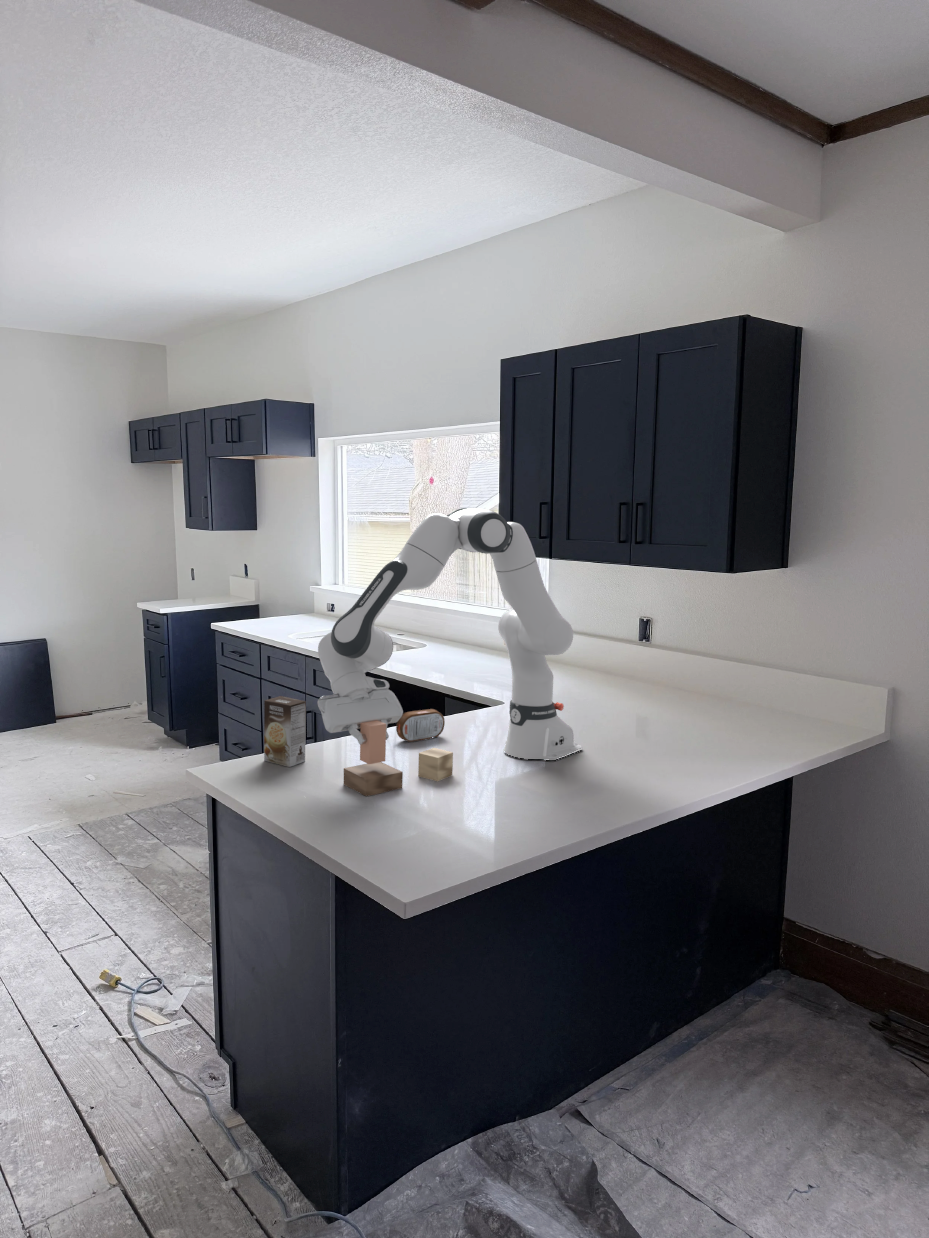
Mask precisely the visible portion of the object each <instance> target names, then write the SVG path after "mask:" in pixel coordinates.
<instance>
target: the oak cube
mask: <svg viewBox="0 0 929 1238" xmlns="http://www.w3.org/2000/svg"><path fill="white" fill-rule="evenodd" d="M453 765H454V752H453V751H448V750H446V749H440V748H437V747H432V748H429V749H427V750H423V751H421V752H418V768H417V769H418V772H417V773H418V777H419V778H423V779H428V780H430V779H431V781H434V782H440V781H441V780H444V779H447V778H450V777H452V776H453V770H454V768H453ZM449 776H450V777H449Z"/></svg>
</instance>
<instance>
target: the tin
mask: <svg viewBox="0 0 929 1238" xmlns="http://www.w3.org/2000/svg"><path fill="white" fill-rule="evenodd" d="M445 721H446V719H445V717H444V715H443V714H442V713H441V712H439V711H438V710H437V709H434V708H430V709H429V708H427V709H422V710H421V709H419V710H412V711H407V712H404V713H403V714H402V717H401V718H400V719H399V720H398V722H396V727H395V729H396V734H397V736H398V737H399V738H400V739H401V740H404V741H405V742H408V743H409V742H410V743H414V742H419V741H424V740H425V739H427V740H431V739H430V738H432V737H436V738H438V737H439V736H441V734H442V733H443V731H444V728H445ZM437 736H438V737H437Z"/></svg>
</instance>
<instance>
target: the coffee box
mask: <svg viewBox="0 0 929 1238" xmlns="http://www.w3.org/2000/svg"><path fill="white" fill-rule="evenodd" d="M263 705H264V708H263V709H264V711H263V712H264V717H263V718H264V721H263V724H264V725H263V726H264V728H263V729H264V731H263V732H264V733H263V736H264V738H263V740H264V741H263V745H264V746H263V751H264V752H263V755H264V757H263V760H264V762H268V763H273V764H276V765H279V766H280V765H281V766H282V767H283V766H284V767H287V768H291V767H294V766H297V765H299V764H301V763H304V762H306V736H307V735H306V734H307V733H306V732H307V731H306V729H307V728H306V726H307V725H306V724H307V723H306V722H307V721H306V720H307V717H306V716H307V715H306V714H307V700H300V699H297V698H292V697H288V696H283V695H279V696H276V697H272V698H268V699H265V700H264V703H263Z"/></svg>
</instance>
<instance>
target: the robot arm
mask: <svg viewBox="0 0 929 1238" xmlns="http://www.w3.org/2000/svg"><path fill="white" fill-rule="evenodd" d="M458 549H459V550H463V551H465V552H469V553H479V554H486V555H487V554H489V555H490V557H491V559H492V562H493V566H494V570H495V573H496V577H497V581H498V584H499V587H500V591H501V593H502V594H501V595H502V597H503V598H504V600H505V602H507V603H508V605H509V606H510V607H511V609H508V610H507V611H505V612H504V613H503V614H502V615H501V617H500V619H499V621H498V634H499V635H500V637H501V639H502V641H503V642H504V644H505V647H506V650H507V654H508V659H509V663H510V668H511V699H510V701H509V712H508V713H509V723H508V724H509V725H508V730H507V736H506V740H505V743H504V749H503V752H504V751H505V752H506V753H507V754H509V755H511V756H510V757H512V756H514V757H513V758H515V757H518V758H517V759H520V758H524V759H523V760H528V759H549V760H555V759H557V758H559V757H562V756H565V755H567V754H569V753H572V752H574V751H576V750H578V749H581V748H582V749H583V747H582V745H581V744H579V743H578V742H576V741H575V737H574V735H575V734H574V730H573V728H572V727H571V726H570V724H568V723H567V722H566V721H564V720H563V719H562V718H561V717H560V716H559V715H558V713H557V710H558V711H563V710H564V707H565V706H564V703H560V702H557V701H556V702H554V696H553V695H554V674H553V670H552V669H551V668H550V667H549V664H548V662H547V658H546V656H559V655H563V654H564V653H566V652H567V651H568V650H569V649H570V648H571V646H572V643H573V640H574V630H573V627H572V624H570V622H569V621H568V620H566V619H565V618H564V616H563V615H562V614H561V613H560V611H559V610H558V608H557V607H556V605H555V603H554V601H553V600H552V598H551V596H550V595H549V592H548V591H547V589H546V586H545V584H544V581H543V577H542V574H541V570H540V567H539V563H538V560H537V557H536V554H535V550H534V548H533V545H532V542H531V540H530V538H529V535H528V534H527V532H526V529H525V528H524V526H523V525H522V524H521V523H518V522H514V521H507V520H506V519H505V518H504V517H503V516H502V515H501V514H500V513H498V512H496V511H494V510H490V509H489V510H488V509H484V508H479V507H472V508H467V507H464V508H457V509H456V510H453V511H452V512H451V513H449V514H448V515H447V514H444V513H433V512H432V513H430V514H428V515H427V516H426V517H425V518H424V519H423V520H422V521H421V522H420V524H419V525H418V526H417V527H416V528H415V530H414V531H413V532H412V533H411V535H410V536H409V538H408V540H407V542H406V543H405V544H404V546H403V547H402V549H401V551H399V553H398V554H397V556H395V558H394V559H392V560H391V561H390V562H387V564H385V565H384V566H383V567H382V569H381V570H380V571H379V572H378V573H377V574H376V576H375V577H374V578H373V579H372V581H371V582H370V583H369V585H368V586H367V588H366V589H365V590H364V591H363V592H362V594H361V595H360V597H359V598H358V599H357V601H355V603H354V604H353V606H352V607H350V609H348V610H347V611H346V612H345V613H344V614H343V615H341V616H340V617H339V618H338V619H337V620H336V622H335V623H334V625H333V627H332V628H331V631H330V632H329V633H327V634H325V635H324V636H323V637H322V638H321V639H320V641H319V643H318V647H317V652H318V659H319V660H320V664H321V667H322V669H323V673H324V675H325V676H326V677H327V679H328V680H329V681H330V682H329V683H330V688H331V691H332V693H333V694H330V695H322V696H320V698H318V699H317V702H316V703H317V706H318V709H319V711H320V712H321V717H322V722H323V725H324V728H325V730H326V731H327V732H328V733H330V734H335V733H341V732H346V731H348V733H349V734H350V735H351V736H352V737H353V738H354V739H356V741H357V742H358V745H359V746H360V745H361V744H366V742H367V738H366V735H365V734H361V733H360V731H359V730H360V727H361V723H364V722H370V721H376V720H378V721H380V722H383V723H385V724H386V741H388V739H389V736H390V735H389V733H388V731H387V730H388V725H389V724H394V723H395V724H396V723H397V722H398V720H399V719H400V718H401V717H402V715H403V714H404V710H403V707H402V705H401V702H400V701H399V699H398V697H397V696H396V695H395V693H394V692H393V691H392V690H390V689H389V688H390V683H389V681H387V680H385V679H380V678H374V677H371V676H366V673H368V672H371V671H373V670H375V669H378V668H379V667H381V666H383V665H385V664H386V663H388V661H389V660H390V658H391V656H392V654H393V651H394V643H393V640H392V638H391V636H390V635H389V634H388V633H387V632H386V631H384V630H382V629H381V628H379V627H378V626H375V622H376V620H377V619H378V618H379V616H380V615H381V614H382V612H383V610H384V609H385V608H386V606H387V605H388V604H389V603H390V602H391V600H392V599H393V597H394V596H396V595H397V594H398V593H400V592H403V591H407V590H410V591H412V590H413V591H419V590H424V589H427V588H429V587H430V586H431V585H432V584H434V582H436V580H437V579H438V578H439V576H440V574H441V573H442V571H443V569H444V568H445V566H446V565H447V563H448V561H449V559H450V557H451V556H453V554H454V553H455V552H456V551H457V550H458ZM505 744H506V745H505ZM507 754H506V755H507ZM509 755H508V756H509Z"/></svg>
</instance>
